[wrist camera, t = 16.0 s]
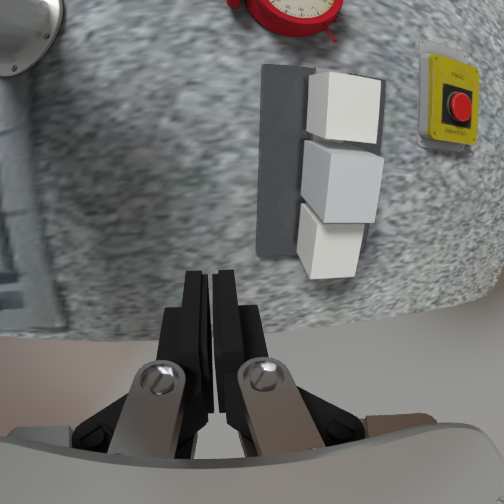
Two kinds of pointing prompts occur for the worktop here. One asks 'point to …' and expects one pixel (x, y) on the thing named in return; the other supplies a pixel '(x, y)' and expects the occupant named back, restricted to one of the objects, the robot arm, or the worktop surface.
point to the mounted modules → (339, 128)
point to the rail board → (289, 155)
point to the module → (341, 181)
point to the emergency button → (446, 98)
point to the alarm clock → (293, 15)
